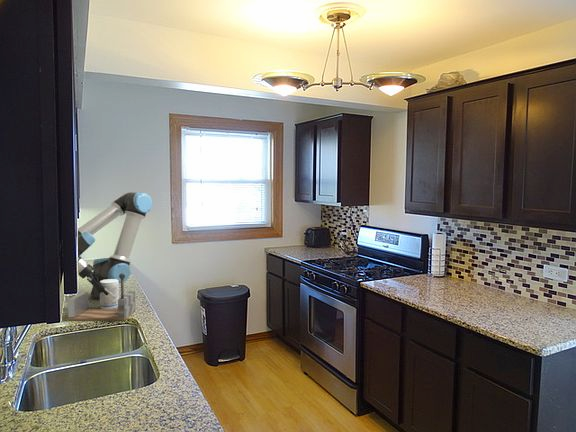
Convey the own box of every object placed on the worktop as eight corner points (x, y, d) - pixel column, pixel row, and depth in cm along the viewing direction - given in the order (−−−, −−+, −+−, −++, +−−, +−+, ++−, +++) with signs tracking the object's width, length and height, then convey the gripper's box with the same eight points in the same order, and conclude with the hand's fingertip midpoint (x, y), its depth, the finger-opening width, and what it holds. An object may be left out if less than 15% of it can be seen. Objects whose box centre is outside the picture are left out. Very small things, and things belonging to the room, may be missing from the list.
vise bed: (81, 311, 215) (80, 267, 214) (135, 311, 216) (134, 268, 215) (65, 320, 199) (64, 274, 198) (124, 320, 200) (123, 274, 199)
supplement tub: (103, 305, 227) (103, 278, 226) (121, 304, 228) (121, 278, 227) (97, 310, 217) (96, 282, 216) (115, 309, 218) (115, 282, 217)
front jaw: (82, 308, 214) (82, 291, 214) (88, 308, 215) (88, 291, 214) (68, 317, 199) (67, 299, 199) (74, 317, 200) (74, 299, 199)
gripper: (81, 269, 228) (111, 294, 234) (72, 278, 205) (106, 306, 210) (92, 259, 230) (121, 285, 235) (84, 267, 206) (117, 295, 212)
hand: (114, 295), depth 223 cm, fingers open, 12 cm apart
